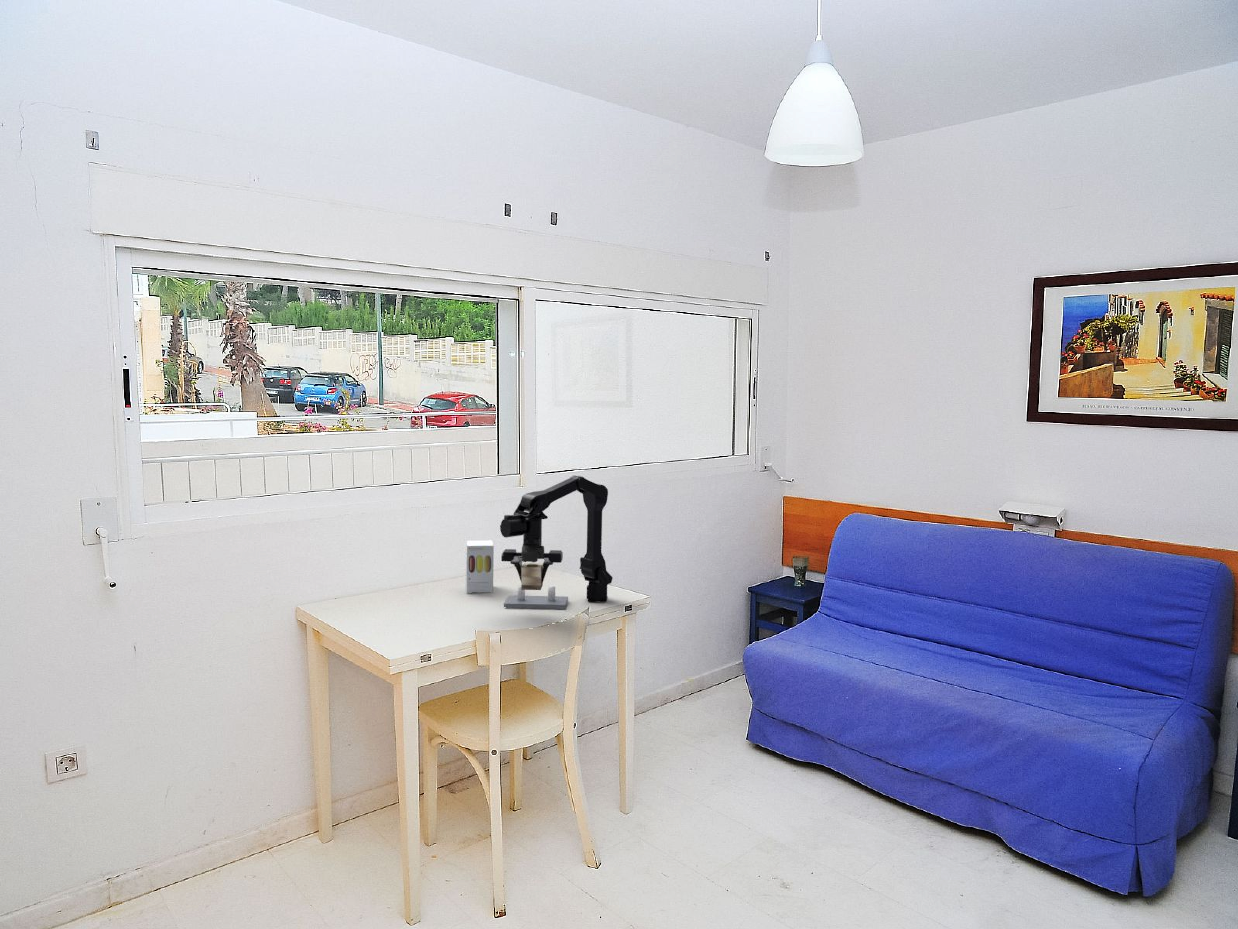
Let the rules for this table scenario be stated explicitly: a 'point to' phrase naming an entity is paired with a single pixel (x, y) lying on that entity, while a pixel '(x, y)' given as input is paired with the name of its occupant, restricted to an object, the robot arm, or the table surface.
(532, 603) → the pin board
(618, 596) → the table surface
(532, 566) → the sleeve
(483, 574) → the supplement box
